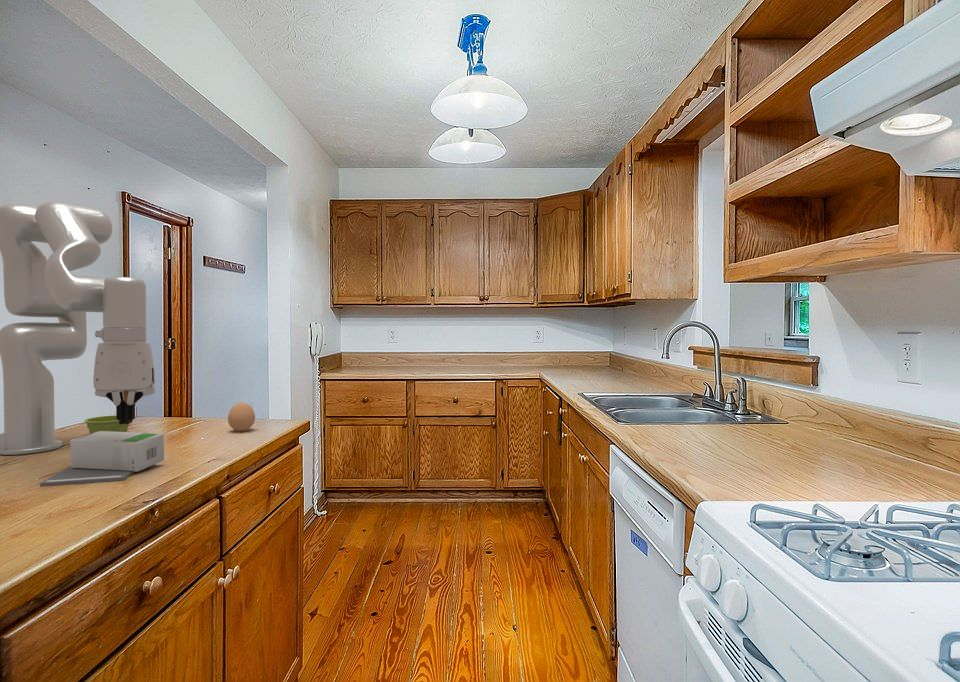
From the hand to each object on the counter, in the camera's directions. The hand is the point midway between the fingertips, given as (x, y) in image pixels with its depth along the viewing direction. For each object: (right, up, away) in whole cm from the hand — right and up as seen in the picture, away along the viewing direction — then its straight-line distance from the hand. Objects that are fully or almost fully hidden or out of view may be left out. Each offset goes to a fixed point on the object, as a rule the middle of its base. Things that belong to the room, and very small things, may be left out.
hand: (125, 423), depth 111 cm
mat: (-5, -11, -1) cm, 12 cm away
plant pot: (-15, -10, +16) cm, 25 cm away
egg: (+4, -10, +45) cm, 46 cm away
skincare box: (+4, -7, +2) cm, 8 cm away
